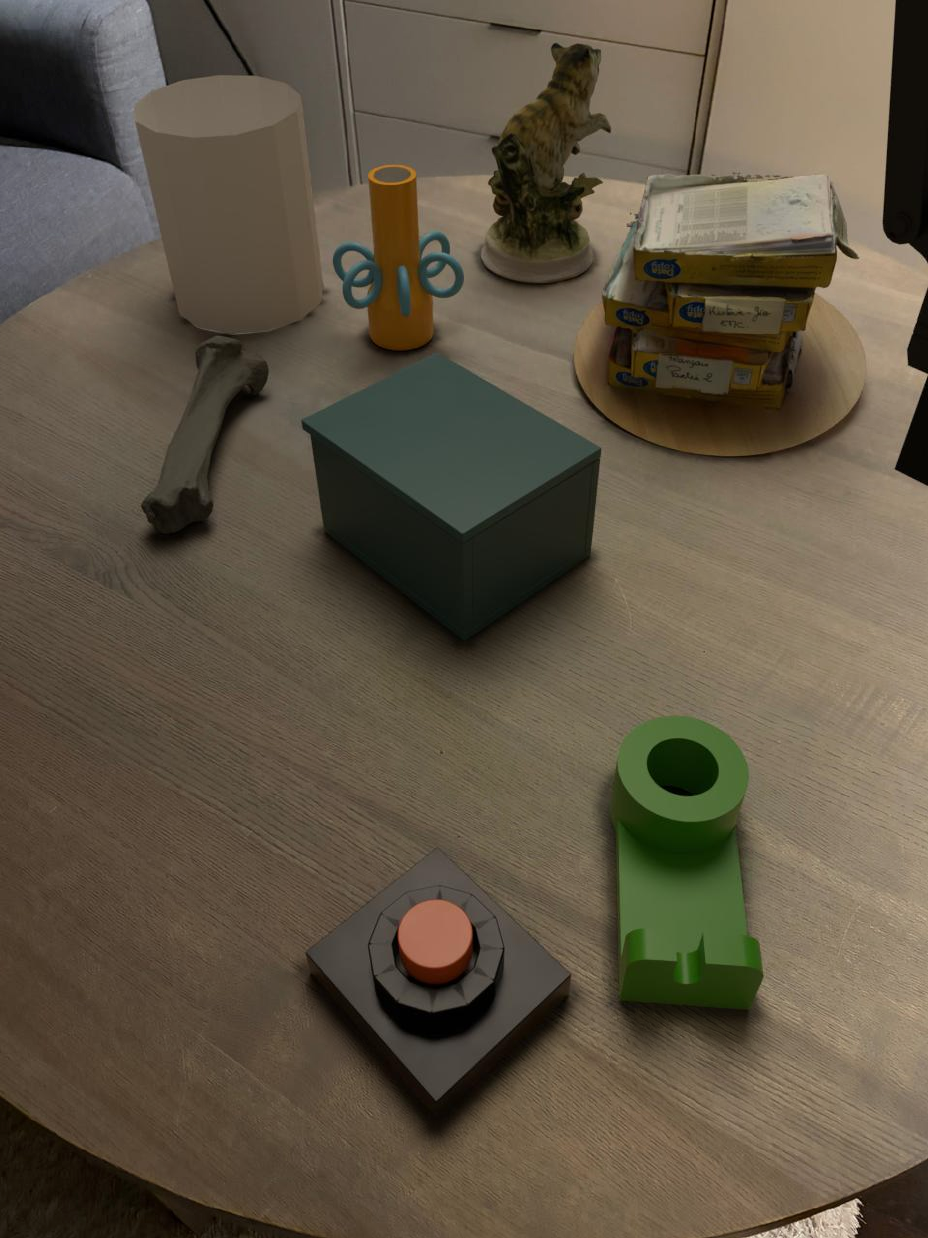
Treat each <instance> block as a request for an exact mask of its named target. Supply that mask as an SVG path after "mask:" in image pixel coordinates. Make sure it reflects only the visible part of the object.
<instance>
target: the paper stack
mask: <svg viewBox="0 0 928 1238" xmlns="http://www.w3.org/2000/svg"><path fill="white" fill-rule="evenodd" d="M657 173H661V174H657ZM657 173H655V174H652V175H650V176H647V177H646V181H645V187H644V191H643V194H642V198H641V199H642V200H641V203H640V207H639V211H638V213H634V214H632V212H629V215H634V220H633V221H630V223H629V222H627V223H626V227H627V228H630V229H629V230H628V232H627V235H626V238H625V240H624V242H623V243H622V245H621V247H620V248H619V250H618V253H617V254H616V255H615V259H614V260H613V262H612V265H611V266H610V269H609V273H608V275H607V279H606V280H605V283H604V287H603V290H602V292H601V301H600V302H599V303H598V304H597V305H596V306H595V307H594V308H592V310H591V311H590V312H589V314H588V315H587V316H586V317H585V319H584V320H583V322H582V324H581V326H580V328H579V331H578V333H577V335H576V339H575V343H574V348H573V363H574V370H575V373H576V377H577V380H578V381H579V384H580V386H581V388H582V390H583V391H584V393H585V395H586V396H587V397H588V399H589V400H590V402H591V403H592V404H593V405H594V406H595V407H596V409H597V410H599V411H600V412H601V413H602V414H603V415H604V416H606V418H608V419H609V420H610V421H611V422H613V423H614V424H616V425H617V426H619V427H620V428H622V429H624V430H625V431H627V432H629V433H631V434H633V435H634V436H637V437H639V438H641V439H643V440H645V441H647V442H650V443H653V444H655V445H658V446H662V447H665V448H668V449H672V450H676V451H679V452H685V453H691V454H695V455H696V454H697V455H704V456H717V457H742V456H743V457H747V456H755V455H763V454H768V453H775V452H779V451H783V450H786V449H790V448H792V447H795V446H798V445H801V444H804V443H806V442H808V441H810V440H812V439H815V438H817V437H818V436H820V435H822V434H824V433H826V432H827V431H828V430H831V428H833V427H834V426H836V425H837V424H838V423H839V422H841V421H842V420H843V419H844V418H845V417H846V416H847V415H848V414H849V412H850V411H851V410H852V409H853V408H854V406H855V405H856V403H857V402H858V400H859V398H860V397H861V395H862V392H863V389H864V386H865V384H866V379H867V378H866V377H867V358H866V352H865V349H864V346H863V343H862V340H861V338H860V337H859V334H858V332H857V331H856V330H855V328H854V326H853V325H852V323H851V322H850V321H849V320H848V319H847V318H846V317H845V315H844V314H843V313H842V312H841V311H840V310H839V309H837V307H836V306H835V305H833V304H831V303H830V302H829V301H828V300H826V299H825V298H824V297H823V296H821V295H819V294H818V293H816V289H817V288H821V289H826V288H829V286H830V285H831V283H832V279H833V275H834V271H835V268H836V264H837V261H838V260H837V259H838V249H839V250H840V252H841V253H842V254H843V255H845V256H846V257H848V258H850V259H853V260H859V259H860V256H859V254H858V253H857V252H856V251H855V250H854V249H853V248H852V247H851V246H850V245H849V240H848V228H847V227H848V223H847V220H846V217H845V215H844V212H843V208H842V205H841V202H840V199H839V197H838V194H837V193H836V190H835V185H834V182H833V181H832V180H830V178H829V176H828V175H827V174H822V173H818V174H812V175H798V176H783V177H781V175H778V174H776V175H774V174H773V175H772V177H773V178H771V175H770V174H766V175H764V177H765V178H768V179H767V180H766V179H765V180H760V179H764V177H763V176H762V175H761V174H755V175H754V176H752V175H751V174H747V175H745V176H743V175H741V172H738V173H737V172H735V171H733V172H732V175H724V176H723V175H719V176H717V175H715V174H711V175H705V174H701V173H700V174H691V175H690V174H688V175H687V174H681V175H675V174H670V173H666V174H664V171H661V172H660V171H659V170H658V171H657ZM736 174H737V175H736ZM735 175H736V178H735ZM714 177H715V178H714ZM754 179H756V180H754ZM758 179H759V180H758ZM750 180H751V181H750Z"/></svg>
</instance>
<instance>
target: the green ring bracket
mask: <svg viewBox="0 0 928 1238" xmlns="http://www.w3.org/2000/svg"><path fill="white" fill-rule="evenodd" d="M618 749H619V750H618V753H617V757H616V758H617V759H616V764H615V771H614V776H613V777H614V778H613V782H612V790H611V796H610V803H609V815H610V821H611V823H612V826H613V830H614V831H615V861H616V862H615V865H616V869H615V870H616V911H617V915H616V916H617V958H618V959H617V960H618V963H617V964H618V1000H619V1001H623V1002H624V1001H625V1002H640V1003H653V1004H664V1005H665V1004H666V1005H677V1006H678V1005H679V1006H693V1007H705V1008H720V1009H733V1010H745V1011H749V1010H750V1009H751V1007H752V1004H753V1003H754V1001H755V997H756V996H757V995H758V994H757V993H758V991H759V989H760V987H761V985H762V982H763V979H764V977H765V976H764V968H763V960H762V959H763V958H762V952H761V944H760V941H759V940H758V939H757V938H755V937H753V936H750V935H749V934H748V927H747V926H748V925H747V918H746V909H745V900H744V891H743V882H742V873H741V865H740V855H739V846H738V838H737V830H736V829H737V828H736V824H737V821H738V818H739V815H740V811H741V809H742V806H743V801H744V799H745V796H746V794H747V793H746V792H747V789H748V785H749V781H750V772H749V766H748V762H747V760H746V757H745V755H744V753H743V751H742V750H741V748H740V746H739V745H738V744H737V742H735V740H734V739H733V738H732V737H731V736H730V735H729V734H728V733H726V732H725V731H723V730H722V729H720V728H719V727H717V726H715V725H713V724H711V723H709V722H707V721H704V720H702V719H699V718H696V717H690V716H684V715H663V716H657V717H654V718H651V719H647V720H646V721H643V722H642V723H639V725H637V726H635V727H634V728H633V729H631V731H630V732H628V733H627V735H626V736H625V737H624V738H623V740H622V742H621V743H620V746H619V748H618ZM663 787H674V788H675V787H676V788H679V789H682V790H684V791H687V792H688V793H690V794H691V795H679V794H675V793H672V792H669V791H667V790H666V789H664V788H663Z"/></svg>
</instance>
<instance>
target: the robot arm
mask: <svg viewBox="0 0 928 1238" xmlns="http://www.w3.org/2000/svg"><path fill="white" fill-rule="evenodd" d="M894 2H895V3H894V20H893V36H892V37H893V38H892V52H891V53H892V55H891V56H892V57H891V69H890V70H891V72H890V87H889V88H890V90H889V105H888V122H887V123H888V124H887V139H886V143H887V144H886V154H885V155H886V157H885V172H884V189H883V191H884V192H883V206H882V207H883V208H882V231H883V232H884V235H885V236H886V238H887V239H888V240H889V241H890V242H891V243H893V244H897V245H907V244H908V245H910V246H911V247H912V248H913V249H914V250H915V251H916V252H918V253H919V254H920V255H921V256H922V257H923V259H925V261H926V263H927V264H928V0H895V1H894ZM906 356H907V366H909V367H910V368H912V369H915V370H917V371H920V372H921V373H924V374H927V376H926V379H925V382H924V385H923V387H922V390H921V393H920V396H919V399H918V402H917V404H916V407H915V410H914V413H913V415H912V418H911V421H910V425H909V427H908V430H907V432H906V435H905V438H904V441H903V443H902V446H901V450H900V451H899V454H898V457H897V460H896V463H895V466H894V470H895V471H897V472H899V473H901V474H903V475H905V476H907V477H908V478H910V479H913V480H915V481H917V482H919V483H920V484H923V485H924V486H926V487H928V287H927V288H926V290H925V293H924V297H923V301H922V303H921V305H920V309H919V312H918V315H917V318H916V322H915V324H914V327H913V330H912V334H911V336H910V339H909V342H908V344H907V348H906Z"/></svg>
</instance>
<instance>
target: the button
mask: <svg viewBox="0 0 928 1238" xmlns="http://www.w3.org/2000/svg"><path fill="white" fill-rule="evenodd" d="M398 944H399V953H400V959H401V962H402V964H403V966H404V968H405V970H406V971H407V972H408V973H409V974H410V975H411V976H412V977H413V978H415V979H416V980H418V981H420V982H423V983H427V984H433V985H436V984H444V983H448V982H450V981H453V980H454V979H456V978H458V977H459V976H460V975H461V974H462V973H463V972H464V971H465V970H466V969H467V967H468V966H469V964H470V961H471V959H472V954H473V930H472V925H471V922H470V920H469V918H468V916H467V915H466V913H465V912H464V911H463V910H462V909H461V908H460V907H458V906H457V905H455V904H453V903H451V902H449V901H445V900H438V899H434V900H427V901H423V902H421V903H418V904H417V905H415V906H413V907H412V908H411V909H410V910H409V911H407V913H406V914H405V915H404V916H403V918H402V920H401V922H400V924H399V928H398Z"/></svg>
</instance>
